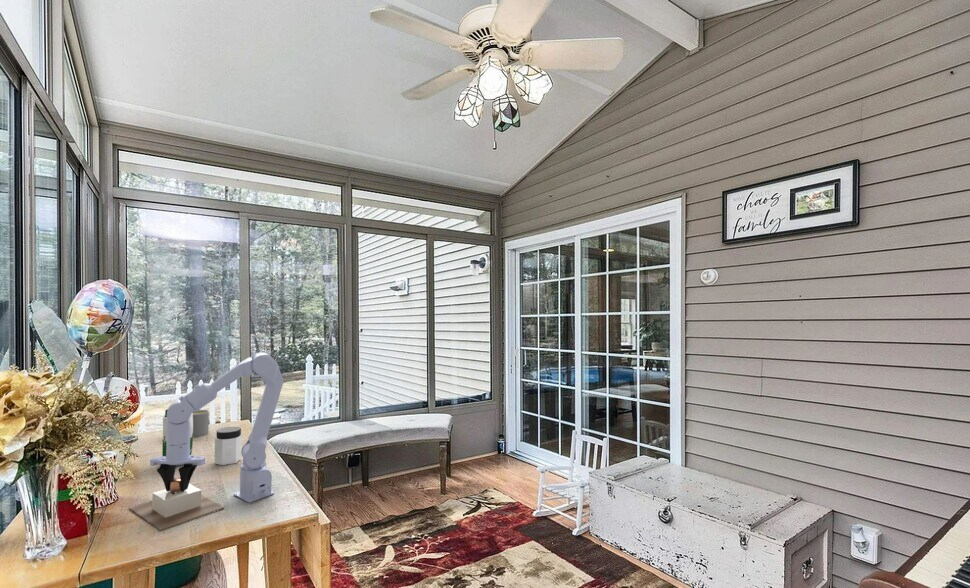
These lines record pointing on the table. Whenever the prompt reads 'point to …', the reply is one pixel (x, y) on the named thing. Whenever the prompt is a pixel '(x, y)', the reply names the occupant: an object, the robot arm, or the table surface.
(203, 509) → the board
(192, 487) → the hollow square block
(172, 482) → the plunger
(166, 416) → the milk carton
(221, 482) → the table surface
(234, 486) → the table surface
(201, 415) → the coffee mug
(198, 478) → the table surface
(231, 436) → the jar
